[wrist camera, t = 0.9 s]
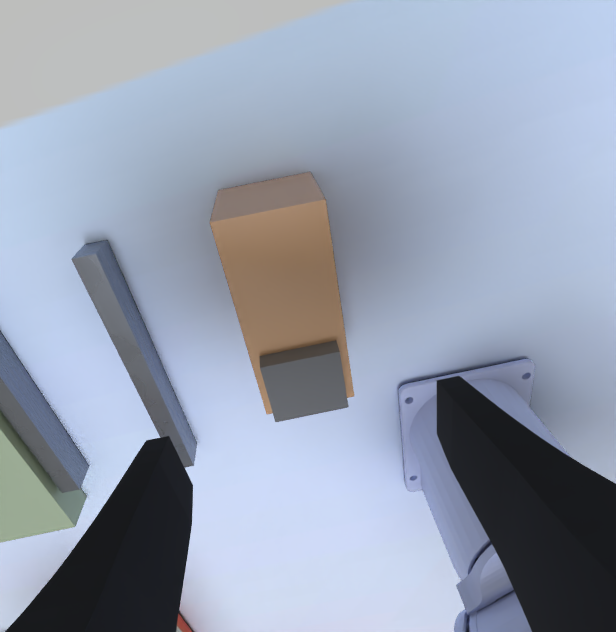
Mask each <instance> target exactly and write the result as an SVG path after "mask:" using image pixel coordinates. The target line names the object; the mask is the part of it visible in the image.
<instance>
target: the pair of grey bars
mask: <svg viewBox="0 0 616 632" xmlns="http://www.w3.org/2000/svg"><path fill="white" fill-rule="evenodd" d="M72 261H73V263H74V265H75V267H76V269H77V271H78V273H79V275H80V277H81V279H82V281H83V283H84V285H85V287H86V289H87V291H88V293H89V295H90V297H91V299H92V301H93V303H94V305H95V307H96V309H97V311H98V313H99V315H100V317H101V319H102V321H103V323H104V325H105V327H106V329H107V331H108V333H109V335H110V337H111V339H112V341H113V343H114V345H115V347H116V349H117V351H118V353H119V355H120V357H121V359H122V361H123V363H124V365H125V367H126V369H127V371H128V373H129V375H130V377H131V379H132V381H133V383H134V385H135V387H136V389H137V391H138V393H139V395H140V397H141V399H142V401H143V403H144V405H145V407H146V409H147V411H148V413H149V415H150V417H151V419H152V421H153V423H154V425H155V427H156V429H157V431H158V433H159V435H160V437H161V438H162V437H166V436H169V437H170V439H171V441H172V443H173V445H174V447H175V449H176V451H177V453H178V455H179V458H180V460H181V462H182V464H183V466H184V467H189V466H194V461H195V454H196V447H197V443H196V441H195V438H194V436H193V434H192V432H191V429H190V427H189V425H188V422H187V420H186V418H185V416H184V413H183V411H182V409H181V407H180V404H179V402H178V400H177V398H176V395H175V393H174V391H173V388H172V386H171V384H170V382H169V379H168V377H167V375H166V373H165V370H164V368H163V366H162V363H161V361H160V359H159V357H158V354H157V352H156V350H155V348H154V345H153V343H152V341H151V338H150V336H149V334H148V332H147V329H146V327H145V325H144V323H143V320H142V318H141V316H140V313H139V311H138V309H137V307H136V304H135V302H134V300H133V298H132V295H131V293H130V291H129V288H128V286H127V284H126V282H125V279H124V277H123V275H122V273H121V270H120V268H119V266H118V263H117V261H116V259H115V257H114V254H113V252H112V250H111V248H110V245H109V243H108V241H107V240H105V241H100V242H95V243H91V244H86V245H84V246H83V247H82V248H81V249H80V250H79V251H78V252H77V253H76V255H75V256H74V257H73V258H72ZM0 410H1V412H2V413H3V414H4V416H5V417H6V418H7V420H8V421H9V422H10V424H11V425H12V426H13V428H14V429H15V430H16V432H17V433H18V435H19V436H20V437H21V439H22V440H23V441H24V443H25V444H26V445H27V447H28V448H29V449H30V451H31V452H32V453H33V455H34V456H35V457H36V459H37V460H38V461H39V463H40V464H41V465H42V467H43V468H44V469H45V471H46V472H47V473H48V475H49V476H50V477H51V479H52V480H53V481H54V483H55V484H56V485H57V487H58V488H59V490H60V491H61V492H62V493H65V492H70V491H75V490H80V488H81V485H82V483H83V480H84V478H85V475H86V473H87V470H88V468H89V466H88V464H87V462H86V461H85V459H84V458H83V456H82V455H81V453H80V452H79V450H78V449H77V447H76V446H75V444H74V443H73V441H72V440H71V438H70V437H69V435H68V434H67V432H66V431H65V429H64V428H63V426H62V424H61V423H60V421H59V420H58V418H57V417H56V415H55V414H54V412H53V411H52V409H51V408H50V406H49V405H48V403H47V402H46V400H45V399H44V397H43V396H42V394H41V393H40V391H39V390H38V388H37V387H36V385H35V383H34V382H33V380H32V379H31V377H30V376H29V374H28V373H27V371H26V370H25V368H24V367H23V365H22V364H21V362H20V361H19V359H18V358H17V356H16V355H15V353H14V352H13V350H12V349H11V347H10V346H9V344H8V342H7V341H6V339H5V338H4V336H3V335H2V333H1V332H0Z"/></svg>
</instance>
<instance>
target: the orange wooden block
mask: <svg viewBox="0 0 616 632" xmlns="http://www.w3.org/2000/svg"><path fill="white" fill-rule="evenodd" d="M210 225H211V229H212V232H213V235H214V239H215V242H216V246H217V249H218V252H219V256H220V259H221V262H222V266H223V269H224V272H225V276H226V279H227V282H228V286H229V289H230V293H231V296H232V299H233V303H234V306H235V309H236V313H237V316H238V319H239V323H240V326H241V330H242V333H243V336H244V340H245V343H246V346H247V350H248V353H249V356H250V360H251V363H252V366H253V370H254V373H255V377H256V380H257V383H258V387H259V390H260V393H261V397H262V400H263V403H264V407H265V410H266V414H271V413H273V415H274V419H275V422H279V421H284V420H289V419H294V418H299V417H303V416H308V415H313V414H318V413H323V412H328V411H332V410H337V409H342V408H347V407H348V401H347V398H349V397H353V396H354V391H353V384H352V377H351V370H350V364H349V357H348V350H347V343H346V336H345V329H344V322H343V315H342V308H341V302H340V295H339V288H338V281H337V274H336V267H335V260H334V253H333V246H332V240H331V233H330V226H329V219H328V212H327V205H326V199H325V197H324V195H323V194H322V192H321V190H320V188H319V186H318V185H317V183H316V181H315V179H314V177H313V176H312V174H311V172H307V173H302V174H297V175H292V176H287V177H282V178H277V179H271V180H266V181H261V182H256V183H251V184H246V185H241V186H236V187H231V188H226V189H221V190H218V193H217V197H216V200H215V204H214V208H213V212H212V216H211V219H210Z"/></svg>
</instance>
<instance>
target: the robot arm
mask: <svg viewBox="0 0 616 632" xmlns="http://www.w3.org/2000/svg"><path fill="white" fill-rule="evenodd" d="M534 372H535V364H534V363H533V362H532V361H531V360H530V359H523V360H518V361H513V362H508V363H504V364H499V365H494V366H489V367H484V368H480V369H475V370H470V371H465V372H460V373H456V374H451V375H446V376H441V377H436V378H432V379H427V380H422V381H417V382H412V383H408V384H404V385H402V386H401V387H400V388H399V392H398V393H399V407H400V420H401V433H402V447H403V460H404V474H405V485H406V488H407V490H408V491H410V492H415V491H420V490H423V492H424V495H425V497H426V500H427V502H428V505H429V507H430V510H431V512H432V515H433V517H434V520H435V522H436V525H437V527H438V529H439V532H440V534H441V537H442V539H443V542H444V544H445V547H446V549H447V552H448V554H449V557H450V559H451V562H452V564H453V566H454V569H455V570H456V572H457V574H458V576H459V578H460V579H461V582H459V583H458V584H457V585H456V586H457V589H458V591H459V594H460V596H461V599H462V601H463V604H464V607H465V610H463V611H462V612H460V613H459V615H458V616H457V618H456V621H455V625H454V632H616V484H615V483H613V482H611V481H610V480H608V479H606V478H605V477H603V476H601V475H599V474H598V473H596V472H594V471H592V470H591V469H589V468H587V467H585V466H584V465H582V464H581V463H579V462H577V461H576V460H574V459H573V458H571V457H570V456H569V455H568V453H567V452H566V451H565V450H564V449H563V447H562V446H561V445H560V444H559V442H558V441H557V440H556V439H555V437H554V436H553V435H552V434H551V433H550V431H549V430H548V429H547V428H546V426H545V425H544V424H543V423H542V422H541V420H540V419H539V418H538V417H537V415H536V414H535V413H534V412H533V411H532V409H531V408H530V400H531V393H532V386H533V379H534ZM525 373H526V374H525ZM523 374H524V375H523ZM408 397H410V398H409V399H406V398H408ZM192 503H193V485H192V483H191V481H190V478H189V476H188V474H187V472H186V470H185V468H184V466H183V464H182V462H181V460H180V458H179V455H178V453H177V451H176V449H175V447H174V445H173V443H172V441H171V439H170V437H169V436H166V437H162V438H157V439H152V440H147V441H146V442H145V443H144V445H143V446H142V448H141V449H140V451H139V452H138V454H137V455H136V457H135V459H134V460H133V462H132V463H131V465H130V466H129V468H128V470H127V471H126V473H125V474H124V476H123V477H122V479H121V481H120V482H119V484H118V485H117V487H116V488H115V490H114V491H113V493H112V494H111V496H110V497H109V499H108V500H107V502H106V503H105V505H104V506H103V508H102V509H101V511H100V512H99V514H98V515H97V517H96V518H95V520H94V521H93V523H92V524H91V526H90V527H89V528H88V530H87V531H86V532H85V534H84V535H83V537H82V538H81V539H80V541H79V542H78V543H77V545H76V546H75V548H74V549H73V550H72V552H71V553H70V554H69V556H68V557H67V559H66V560H65V561H64V563H63V564H62V565H61V566H60V568H59V569H58V570H57V572H56V573H55V574H54V575H53V577H52V578H51V579H50V580H49V582H48V583H47V584H46V585H45V587H44V588H43V589H42V590H41V591H40V593H39V594H38V595H37V596H36V597H35V599H34V600H33V601H32V602H31V603H30V605H29V606H28V607H27V608H26V609H25V610H24V612H23V613H22V614H21V615H20V616H19V617H18V618H17V619H16V621H15V622H14V623H13V624H12V625H11V626H10V627H9V628H8V629H7V630H6V631H5V632H176V630H177V621H178V613H179V607H180V600H181V594H182V587H183V580H184V574H185V567H186V561H187V554H188V547H189V540H190V533H191V526H192Z"/></svg>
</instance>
